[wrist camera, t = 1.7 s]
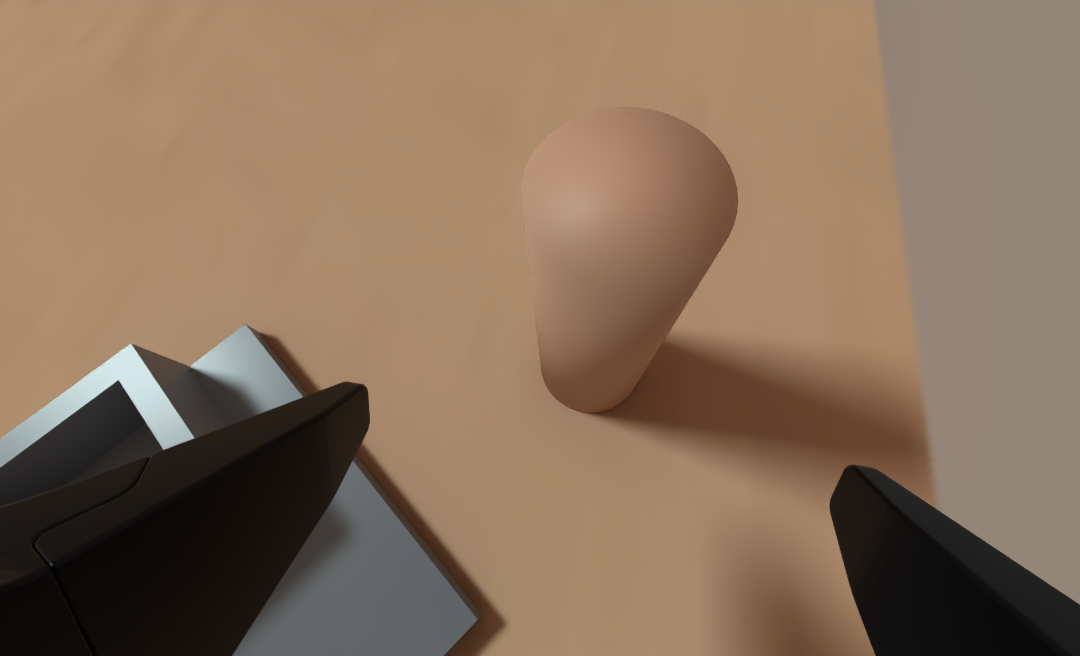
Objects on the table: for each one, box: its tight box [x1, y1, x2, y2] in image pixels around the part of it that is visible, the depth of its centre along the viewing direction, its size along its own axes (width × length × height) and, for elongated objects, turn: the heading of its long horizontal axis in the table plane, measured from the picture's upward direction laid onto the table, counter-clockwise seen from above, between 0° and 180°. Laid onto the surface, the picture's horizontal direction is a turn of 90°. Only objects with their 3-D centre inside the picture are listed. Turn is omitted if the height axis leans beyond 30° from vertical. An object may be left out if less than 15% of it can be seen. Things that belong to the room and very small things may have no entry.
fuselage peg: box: [521, 107, 738, 413], centre depth 16 cm, size 4×4×12 cm
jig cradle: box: [0, 324, 482, 656], centre depth 17 cm, size 16×14×4 cm
